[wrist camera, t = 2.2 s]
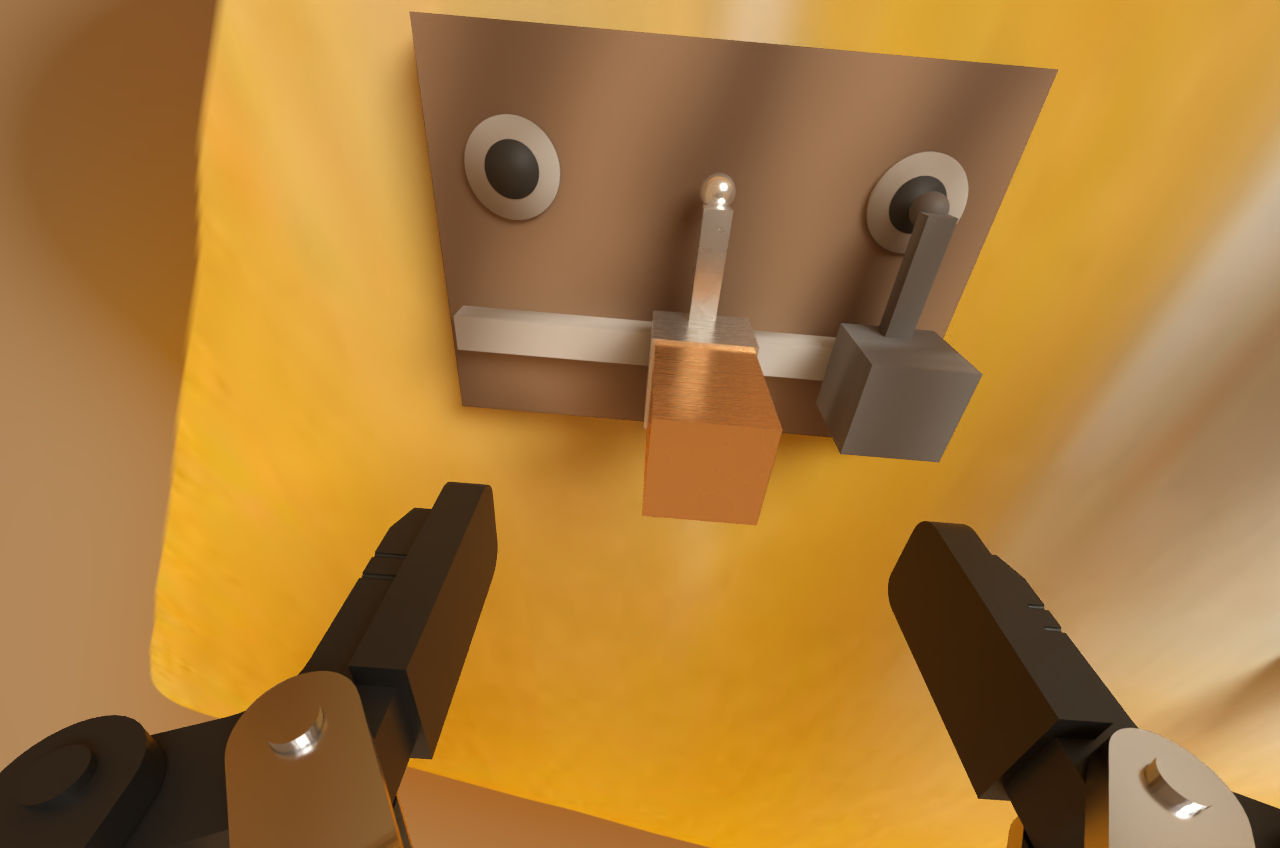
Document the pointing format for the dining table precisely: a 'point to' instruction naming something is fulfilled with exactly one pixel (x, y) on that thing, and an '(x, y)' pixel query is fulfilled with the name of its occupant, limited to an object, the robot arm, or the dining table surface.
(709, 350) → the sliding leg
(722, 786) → the dining table surface
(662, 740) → the dining table surface
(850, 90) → the brown slider base
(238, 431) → the dining table surface
